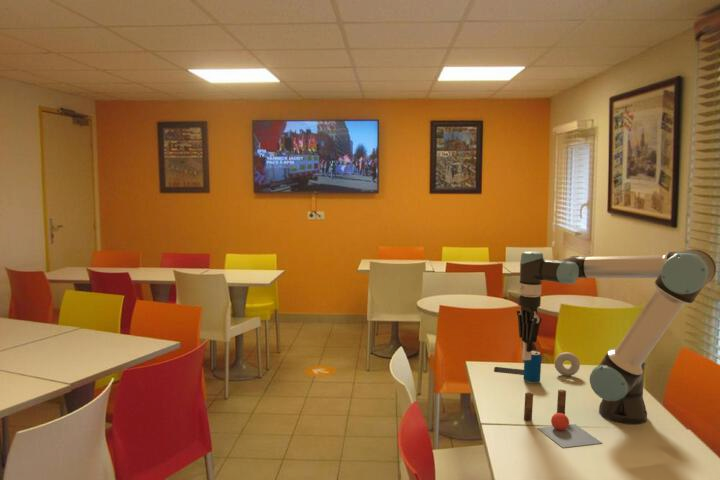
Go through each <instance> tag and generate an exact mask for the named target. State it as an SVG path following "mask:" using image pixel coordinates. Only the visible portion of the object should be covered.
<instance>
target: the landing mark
mask: <svg viewBox="0 0 720 480" xmlns="http://www.w3.org/2000/svg"><path fill="white" fill-rule="evenodd" d="M537 430H538V431H539V432H541V433H542V434H544V435H545V436H546V437H548V438H549V439H550V440H551V441H553V442H554V443H555V444H557V445H558V446H559V447H560V448H562V449H565V448H566V449H567V448H576V447H584V446H594V445H602V444H603V442H602V441H601V440H599V439H597V438H596V437H594V436H593V435H592V434H590V433H589V432H587V431H586V430H585V429H584V428H581V427H580V426H579V425H577V424H575V423H573V424H572V423H571V424H570V423H569V426H568V427H567V429H565V430H563V431H560V430H557V429H555V428H554V427H553V426H552V425H551V426H545V427H544V426H543V427H537Z"/></svg>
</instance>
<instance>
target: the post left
mask: <svg viewBox="0 0 720 480" xmlns="http://www.w3.org/2000/svg"><path fill="white" fill-rule="evenodd" d="M533 407H534V393H533V392H528V391H527V392H525V394H524V407H523V408H524V411H523V420H524V421H526V422H532V421H533Z"/></svg>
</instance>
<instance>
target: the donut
mask: <svg viewBox="0 0 720 480" xmlns="http://www.w3.org/2000/svg"><path fill="white" fill-rule="evenodd" d="M566 361H569V362H570V364H571V365H570V366H568V367H565V366H564V362H566ZM580 365H581V362H580V359H579V358H578V357H577V356H576V355H575V354H573V353H572V352H570V351H569V352H568V351H565V352H561V353H559V354H558V355H557V356H556V358H555V359H554V368H555V370H556V371H557V372H558V373H559V374H560V375H562V376H564V377H571V376H574V375H576V374H577V373H578V372H579V370H580Z"/></svg>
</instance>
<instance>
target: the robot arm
mask: <svg viewBox="0 0 720 480" xmlns="http://www.w3.org/2000/svg"><path fill="white" fill-rule="evenodd" d="M519 265H520V267H519V268H520V269H519V286H518V288H519V290H518V291H519V292H518V293H519V295H518V305H519V306H520V309H519V310H516V315H517V325H518V336H519V337H518V338H520V339H521V341H522V354H521V355H522V356H521V358H522V360H523V361H524V360H531V351H532V350H533V343H537V339H538V334H539V330H540V325H541V323H542V321H543V320H542V317H539V316H538V308H540V307H541V304H542V303H541V301H542V299H541V298H542V297H541V295H542V282H543V281H546V282H552V283H554V282H555V283H560V284H561V283H562V284H563V285H564V284H569V285H573V284H575V283H576V281H578V279H591V278H592V279H655V281H654V286H655V290H654V292H653V293H652V295H651V297H650V298H649V299H648V301H647V303H645V305H644V307H643V308H642V310H641V311H640V313H639V314H638V315H637V317H636V319H635V320H634V321H633V323H632V325H631V326H630V328H629V329H628V330H627V332H626V333H625V335H624V337H623V338H622V340H621V341H620V342H619V343H618V345H617V346H616V348H615V347H613V348H610V349H609V350H608V351H607V352H606V354H605V356H604V357H603V359H602V360H601V361H600V363H599V365H597V366H596V367H595V368H593V369H592V371H591V372H590V375H589V385H590V387H591V390H592V391H593V393H595V394H596V396H597V397H598V398H601V399H602V400H601V402H599V405H598V409H599V410H598V413H599V414H600V416H601V417H604V419H607V420H609V421H612V422H615V423H620V424H627V425H641V424H644V423H646V422H647V420H648V410H647V409H646V404H645V400H644V386H645V385H644V383H645V369H646V363H647V362H646V359H647V358H648V356H649V355H650V354H651V352H652V351H653V350H654V348H655V346H657V344H658V342H659V341H660V339H661V338H662V336H664V334H665V333H666V330H667V329H668V328H669V326H670V325H671V324H672V322H673V321H674V320H675V318H676V316H677V315H678V314H679V313H680V311H681V310H682V308H683V307H684V306H686V305H691V304H693V303H694V301H695V300H696V298H697V297H698V296H699V294H700V292H701V291H702V290H703V289H704V287H705V286H706V285H707V284H709V283H710V282H711V281H712V280H713V279H714V277H715V276H716V272H717V265H716V262H715V259H714V258H713V257H712V256H711V255H710V254H709V253H707V252H706V251H704V250H701V249H696V248H695V249H694V248H692V249H688V250H687V249H686V250H681V251H668V252H666V253H665V254H663V255H662V254H661V255H660V254H658V255H657V254H655V255H611V256H610V255H609V256H608V255H606V256H603V255H602V256H580V255H572V256H569V257H567V258H561V259H548V258H544V253H543V252H542V251H534V250H533V251H530V250H529V251H523V252H521V255H520V263H519Z"/></svg>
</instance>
